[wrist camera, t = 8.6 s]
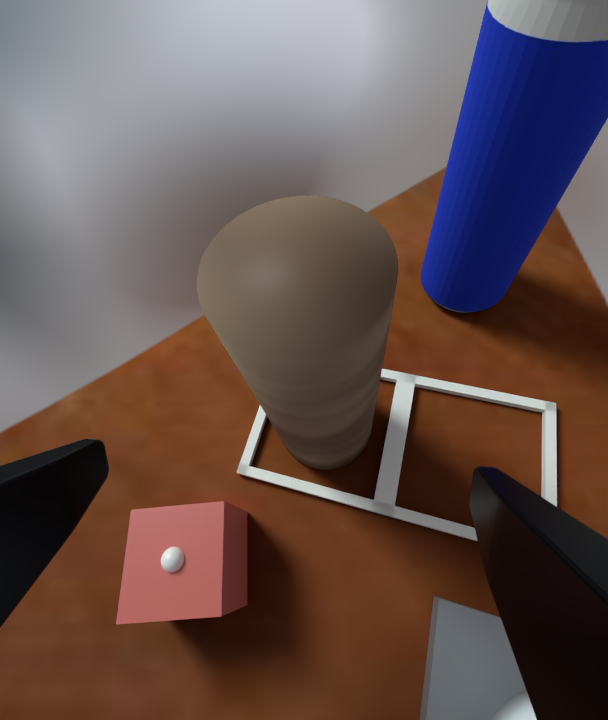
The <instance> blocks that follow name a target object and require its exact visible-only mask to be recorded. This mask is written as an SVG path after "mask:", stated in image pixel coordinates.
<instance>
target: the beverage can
mask: <svg viewBox="0 0 608 720" xmlns="http://www.w3.org/2000/svg"><path fill="white" fill-rule="evenodd" d="M607 118H608V0H488V1H487V5H486V9H485V13H484V17H483V21H482V26H481V30H480V34H479V38H478V42H477V46H476V50H475V54H474V58H473V62H472V66H471V71H470V75H469V79H468V83H467V87H466V91H465V95H464V99H463V103H462V107H461V111H460V116H459V120H458V124H457V127H456V132H455V136H454V140H453V144H452V148H451V152H450V157H449V160H448V164H447V168H446V172H445V176H444V181H443V185H442V189H441V193H440V197H439V201H438V205H437V209H436V213H435V217H434V221H433V225H432V229H431V234H430V238H429V242H428V246H427V250H426V254H425V258H424V262H423V266H422V270H421V282H422V285H423V288H424V290H425V291H426V293H427V294H428V295H429V296H430V297H431V298H432V299H433V300H434V301H435V302H436V303H437V304H439V305H440V306H442V307H444V308H446V309H448V310H452V311H455V312H467V313H468V312H477V311H482V310H485V309H488V308H490V307H492V306H494V305H495V304H497V303H498V302H499V301H500V300H501V299H502V298H503V296H504V295H505V293H506V292H507V290H508V288H509V286H510V285H511V283H512V281H513V280H514V278H515V276H516V274H517V273H518V271H519V269H520V268H521V266H522V264H523V262H524V261H525V259H526V257H527V256H528V254H529V252H530V250H531V249H532V247H533V245H534V244H535V242H536V240H537V238H538V237H539V235H540V233H541V231H542V230H543V228H544V226H545V225H546V223H547V221H548V219H549V218H550V216H551V214H552V213H553V211H554V209H555V207H556V206H557V204H558V202H559V200H560V199H561V197H562V195H563V194H564V192H565V190H566V188H567V187H568V185H569V183H570V182H571V180H572V178H573V177H574V175H575V173H576V171H577V170H578V168H579V166H580V165H581V163H582V161H583V159H584V158H585V156H586V154H587V152H588V151H589V149H590V147H591V146H592V144H593V142H594V140H595V139H596V137H597V135H598V134H599V132H600V130H601V128H602V127H603V125H604V123H605V122H606V120H607Z"/></svg>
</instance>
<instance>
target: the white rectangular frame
mask: <svg viewBox="0 0 608 720" xmlns="http://www.w3.org/2000/svg"><path fill="white" fill-rule="evenodd" d="M380 380H385V381H390V382H395V383H396V386H395V391H394V396H393V402H392V407H391V412H390V417H389V423H388V428H387V433H386V438H385V444H384V449H383V454H382V459H381V465H380V470H379V475H378V480H377V486H376V491H375V496H374V500H371V499H368V498H364V497H361V496H357V495H353V494H350V493H346V492H342V491H339V490H335V489H332V488H328V487H324V486H321V485H317V484H313V483H310V482H306V481H302V480H299V479H295V478H292V477H288V476H284V475H281V474H277V473H273V472H270V471H266V470H262V469H259V468H255V467H252V466H251V464H252V461H253V458H254V455H255V452H256V449H257V446H258V443H259V440H260V437H261V434H262V431H263V428H264V425H265V422H266V419H267V415H266V414H265V412H264V410H263V409H262V407H261V405H260V407H259V410H258V413H257V416H256V418H255V421H254V424H253V427H252V430H251V433H250V436H249V438H248V441H247V444H246V447H245V450H244V453H243V456H242V458H241V461H240V464H239V467H238V470H237V473H238V474H240V475H243V476H247V477H250V478H254V479H257V480H261V481H265V482H268V483H272V484H275V485H279V486H282V487H286V488H289V489H293V490H296V491H300V492H304V493H307V494H311V495H314V496H318V497H321V498H325V499H328V500H332V501H335V502H339V503H342V504H346V505H350V506H353V507H357V508H360V509H364V510H367V511H371V512H374V513H378V514H381V515H385V516H389V517H392V518H396V519H399V520H403V521H406V522H410V523H413V524H417V525H420V526H424V527H428V528H431V529H435V530H438V531H442V532H445V533H449V534H452V535H456V536H459V537H463V538H467V539H470V540H474V541H477V542H478V540H477V536H476V531H475V528H473V527H470V526H466V525H462V524H459V523H455V522H451V521H448V520H444V519H441V518H437V517H433V516H430V515H426V514H422V513H419V512H415V511H411V510H408V509H404V508H401V507H397V506H395V501H396V495H397V489H398V483H399V477H400V471H401V465H402V459H403V453H404V447H405V441H406V435H407V429H408V423H409V417H410V411H411V405H412V399H413V393H414V387H419V388H424V389H429V390H434V391H439V392H444V393H449V394H454V395H459V396H463V397H468V398H473V399H478V400H483V401H488V402H493V403H498V404H503V405H507V406H512V407H517V408H522V409H527V410H532V411H537V412H542V484H541V497H542V498H544V499H546V500H547V501H549V502H550V503H552V504H553V505H555V506H556V507H557V440H556V403H552V402H547V401H542V400H537V399H532V398H527V397H522V396H517V395H512V394H507V393H502V392H497V391H492V390H487V389H482V388H477V387H472V386H467V385H462V384H457V383H452V382H447V381H442V380H436V379H431V378H426V377H421V376H416V375H411V374H406V373H401V372H396V371H391V370H386V369H382V371H381V377H380Z"/></svg>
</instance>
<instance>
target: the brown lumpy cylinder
mask: <svg viewBox="0 0 608 720" xmlns="http://www.w3.org/2000/svg"><path fill="white" fill-rule="evenodd" d="M397 276H398V258H397V254H396V250H395V247H394V245H393V242H392V240H391V238H390V236H389V235H388V233H387V232H386V230H385V229H384V228H383V227H382V225H381V224H380V223H379V222H378V221H377V220H376V219H374V218H373V217H372V216H371V215H370V214H368V213H367V212H365V211H364V210H362V209H360V208H358V207H356V206H354V205H352V204H349V203H347V202H344V201H341V200H337V199H333V198H328V197H321V196H294V197H287V198H281V199H277V200H273V201H270V202H267V203H263V204H261V205H258V206H257V207H254V208H252V209H250V210H248V211H246V212H244V213H242V214H241V215H239V216H238V217H236V218H235V219H233V220H232V221H231V222H230V223H228V224H227V225H226V226H225V227H224V228H223V229H222V230H221V231H220V232H219V233H218V234H217V235H216V236H215V237H214V239H213V240H212V241H211V243H210V244H209V246H208V247H207V249H206V251H205V253H204V255H203V258H202V260H201V262H200V266H199V270H198V274H197V293H198V298H199V302H200V305H201V308H202V310H203V312H204V314H205V316H206V318H207V319H208V321H209V322H210V324H211V326H212V327H213V329H214V331H215V332H216V334H217V335H218V337H219V339H220V340H221V342H222V344H223V345H224V347H225V348H226V350H227V352H228V353H229V355H230V357H231V358H232V360H233V361H234V363H235V365H236V366H237V368H238V370H239V371H240V373H241V375H242V376H243V378H244V379H245V381H246V383H247V384H248V386H249V388H250V389H251V391H252V392H253V394H254V396H255V397H256V399H257V401H258V402H259V404H260V405H261V407H262V409H263V410H264V412H265V414H266V415H267V417H268V418H269V420H270V422H271V423H272V425H273V427H274V428H275V430H276V432H277V433H278V435H279V436H280V438H281V440H282V441H283V443H284V445H285V446H286V448H287V449H288V451H289V452H290V453H291V455H292V456H293V457H294V458H295V459H297V460H298V461H299V462H301V463H302V464H304V465H306V466H308V467H311V468H314V469H319V470H332V469H337V468H341V467H343V466H346V465H348V464H349V463H351V462H352V461H354V460H355V459H356V458H357V457H358V456H360V454H361V453H362V452H363V451H364V449H365V447H366V446H367V444H368V441H369V439H370V435H371V429H372V424H373V418H374V412H375V406H376V400H377V394H378V389H379V383H380V377H381V371H382V365H383V360H384V354H385V348H386V342H387V336H388V330H389V325H390V319H391V313H392V307H393V301H394V295H395V290H396V284H397Z"/></svg>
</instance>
